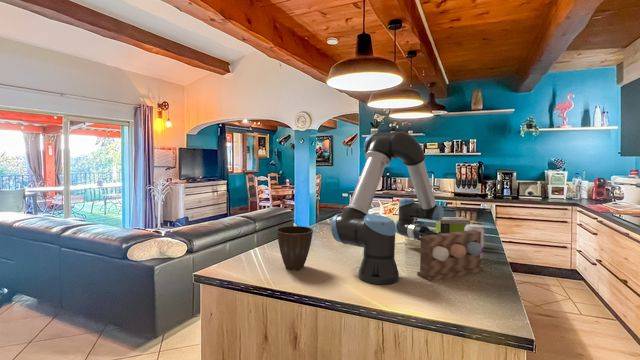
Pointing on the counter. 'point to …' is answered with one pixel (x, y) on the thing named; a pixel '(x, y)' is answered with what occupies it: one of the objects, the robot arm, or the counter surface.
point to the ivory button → (440, 253)
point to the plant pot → (294, 245)
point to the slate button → (474, 248)
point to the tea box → (451, 224)
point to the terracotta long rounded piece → (457, 250)
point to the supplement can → (480, 229)
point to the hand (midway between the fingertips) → (458, 243)
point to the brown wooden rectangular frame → (452, 265)
